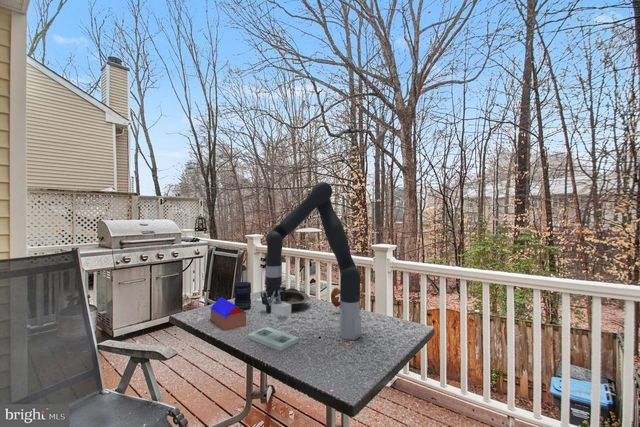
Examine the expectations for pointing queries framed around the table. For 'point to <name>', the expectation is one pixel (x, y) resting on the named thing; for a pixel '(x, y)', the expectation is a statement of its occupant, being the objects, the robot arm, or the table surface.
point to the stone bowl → (294, 298)
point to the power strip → (275, 308)
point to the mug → (333, 298)
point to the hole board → (273, 338)
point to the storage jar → (243, 295)
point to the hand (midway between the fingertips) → (273, 311)
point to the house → (227, 314)
